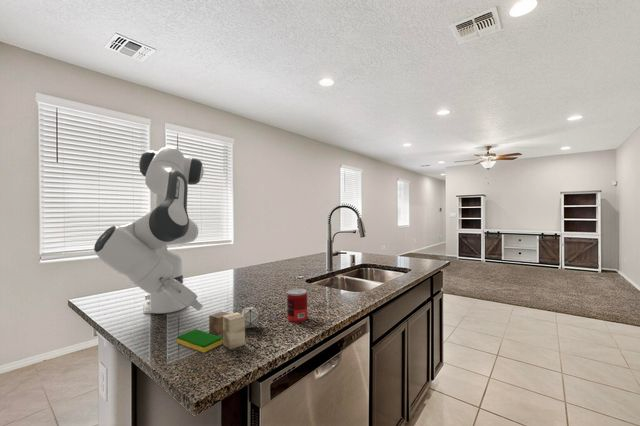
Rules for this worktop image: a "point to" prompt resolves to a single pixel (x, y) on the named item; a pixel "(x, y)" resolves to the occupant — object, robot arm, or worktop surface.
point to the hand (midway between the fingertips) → (193, 304)
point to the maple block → (233, 330)
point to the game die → (251, 316)
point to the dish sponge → (199, 340)
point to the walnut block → (216, 322)
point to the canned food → (297, 305)
